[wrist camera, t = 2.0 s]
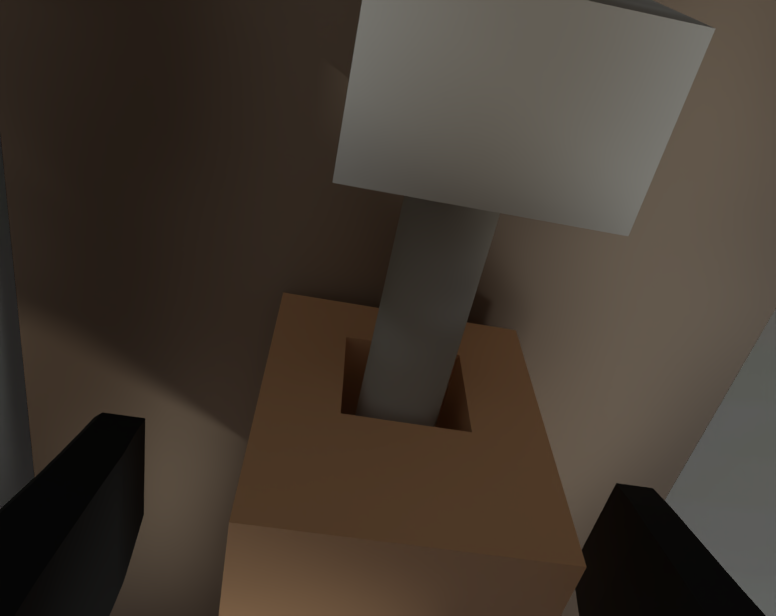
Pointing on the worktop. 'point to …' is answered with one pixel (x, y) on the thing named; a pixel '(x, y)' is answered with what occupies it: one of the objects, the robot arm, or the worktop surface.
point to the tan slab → (383, 224)
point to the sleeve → (395, 486)
